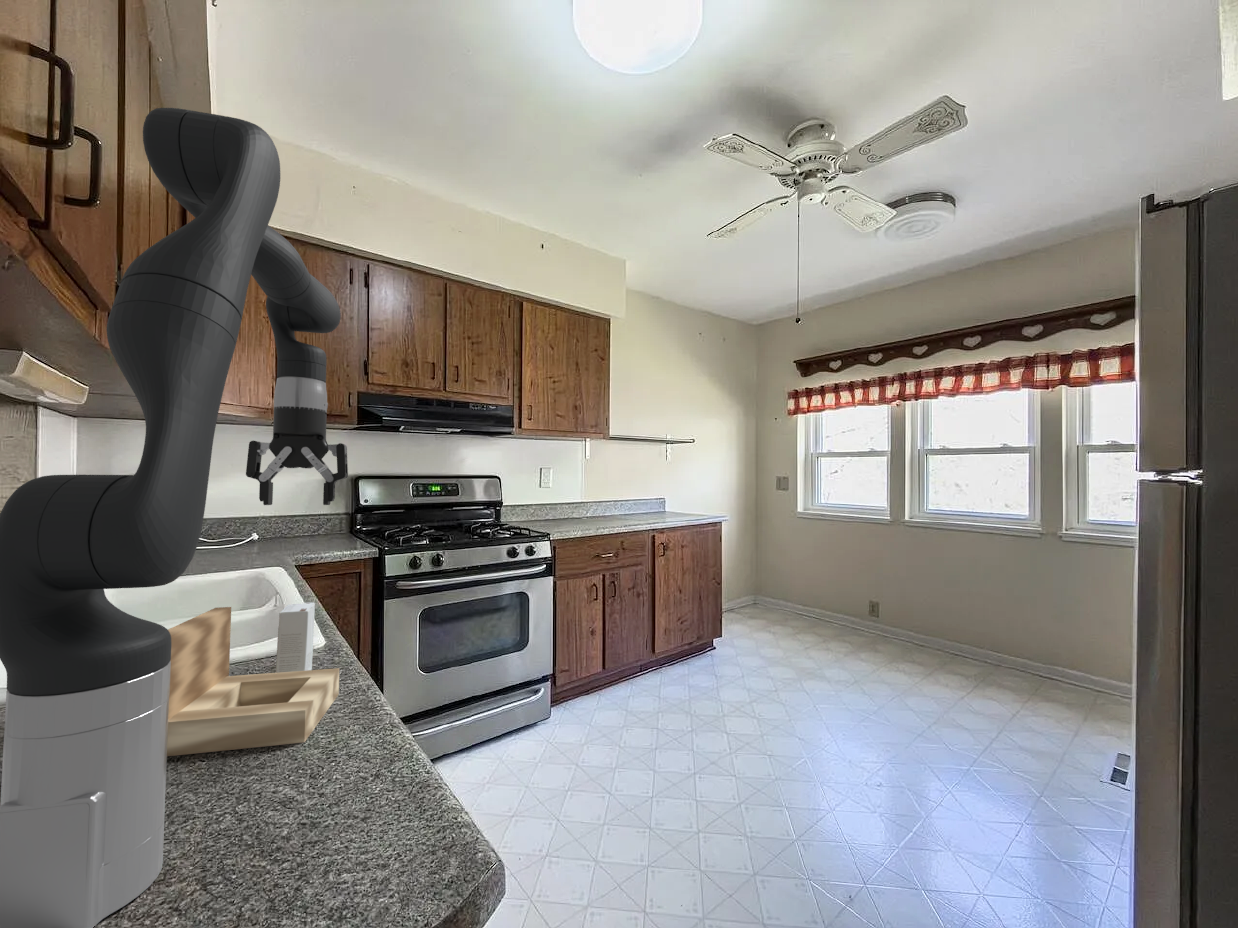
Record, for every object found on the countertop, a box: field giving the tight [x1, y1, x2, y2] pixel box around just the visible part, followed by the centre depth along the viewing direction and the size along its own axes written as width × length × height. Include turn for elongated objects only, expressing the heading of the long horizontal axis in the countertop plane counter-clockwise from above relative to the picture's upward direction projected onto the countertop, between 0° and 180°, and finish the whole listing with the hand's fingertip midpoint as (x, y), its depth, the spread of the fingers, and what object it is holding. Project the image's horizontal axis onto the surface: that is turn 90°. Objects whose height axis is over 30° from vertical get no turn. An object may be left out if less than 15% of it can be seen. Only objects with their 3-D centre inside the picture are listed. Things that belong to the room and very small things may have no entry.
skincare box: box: [275, 601, 316, 673], centre depth 85 cm, size 6×4×12 cm
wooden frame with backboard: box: [167, 606, 340, 757], centre depth 70 cm, size 16×17×14 cm
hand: (297, 504), depth 85 cm, fingers open, 8 cm apart
